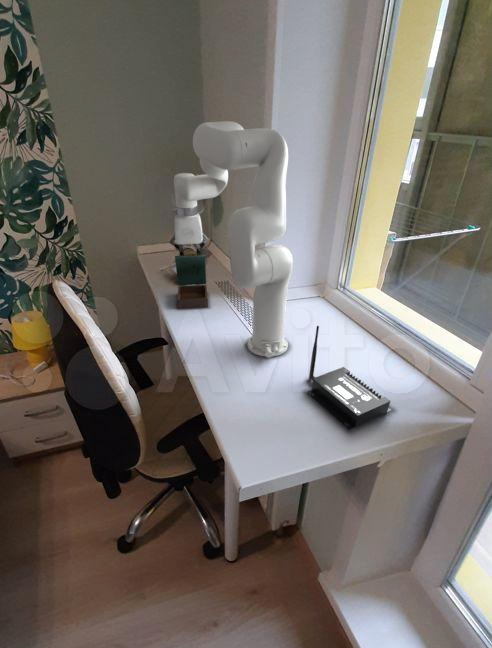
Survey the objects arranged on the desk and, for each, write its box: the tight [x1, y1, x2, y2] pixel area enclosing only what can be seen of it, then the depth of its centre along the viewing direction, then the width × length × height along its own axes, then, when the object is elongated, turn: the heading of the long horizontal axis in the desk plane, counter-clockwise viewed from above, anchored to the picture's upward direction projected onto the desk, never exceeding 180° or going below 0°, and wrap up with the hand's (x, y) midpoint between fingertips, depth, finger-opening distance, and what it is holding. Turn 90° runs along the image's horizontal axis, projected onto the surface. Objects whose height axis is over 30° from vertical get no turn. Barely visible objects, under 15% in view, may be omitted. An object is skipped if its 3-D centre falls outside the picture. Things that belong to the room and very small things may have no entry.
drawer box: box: [177, 284, 209, 310], centre depth 146 cm, size 13×11×4 cm
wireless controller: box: [306, 325, 392, 431], centre depth 94 cm, size 20×14×17 cm
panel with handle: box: [174, 250, 207, 286], centre depth 146 cm, size 13×11×6 cm
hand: (190, 259), depth 147 cm, fingers closed on panel with handle, 5 cm apart
